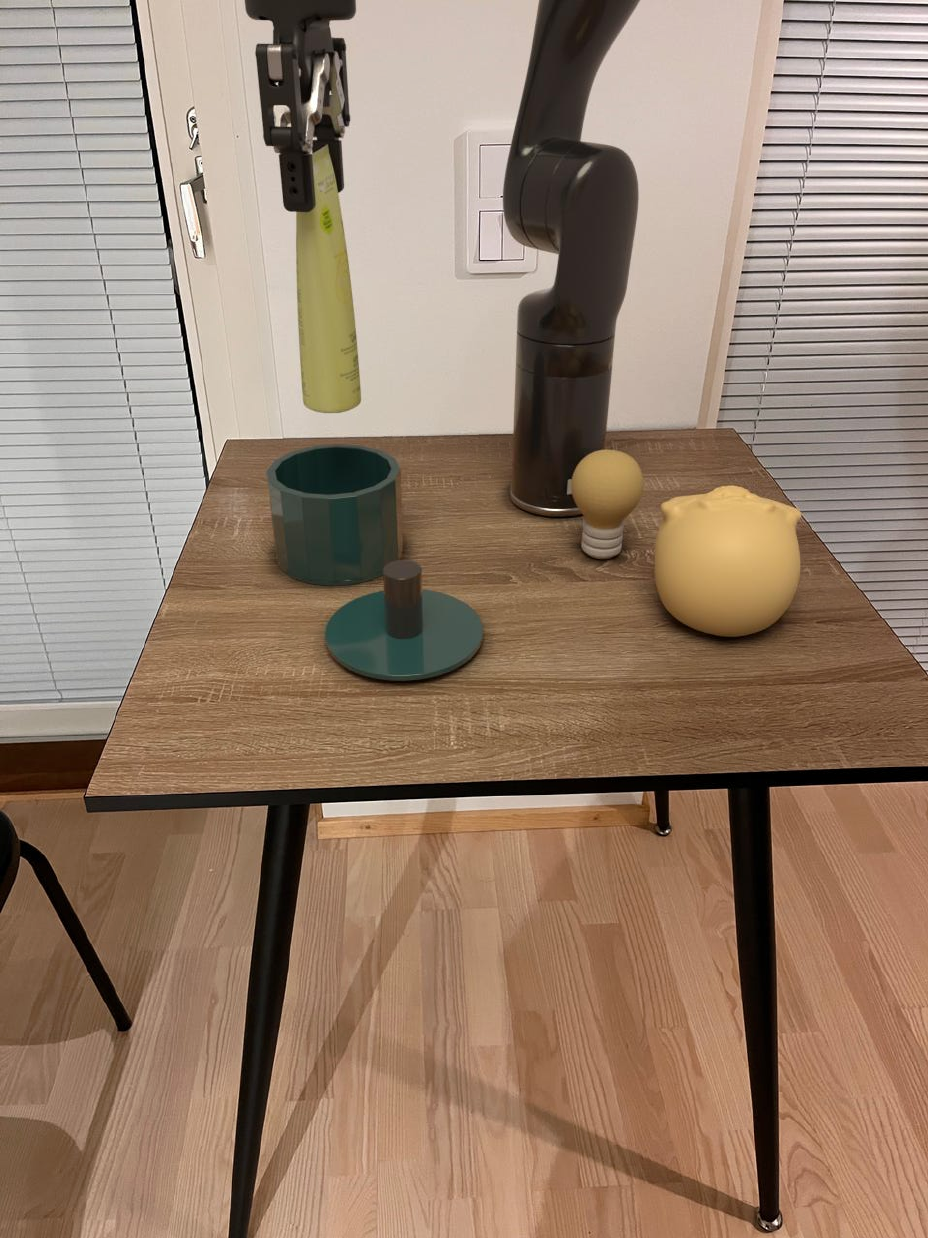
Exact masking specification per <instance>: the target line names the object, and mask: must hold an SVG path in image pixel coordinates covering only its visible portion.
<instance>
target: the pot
mask: <svg viewBox="0 0 928 1238" xmlns="http://www.w3.org/2000/svg"><path fill="white" fill-rule="evenodd" d="M265 473H266V482H267V483H266V484H267V491H268V500H269V501H268V502H269V508H270V516H271V524H272V525H271V526H272V534H273V535H272V536H273V543H274V550H275V556H276V557H275V558H276V562H277V565H278V567H279V569H280V570H281V571H282V572H283V573H285V575H287V576H288V577H291V578H292V579H294V580H297V581H300V582H302V583H306V584H310V585H311V584H312V585H316V586H317V585H318V586H329V587H332V586H333V587H335V586H336V587H338V586H339V587H340V586H351V585H356V584H357V585H358V584H361V583H366V582H369V581H372V580H375V579H378V578H380V577H383V568H384V566H385V565H386V564H388V563H390V562H393V561H397V560H402V557H403V549H404V531H403V530H404V529H403V527H404V526H403V525H404V523H403V497H402V469H401V466H400V465H399V461H398V460H397V458H396V457H394V456H392V455H391V454H389V453H387V451H386V452H385V451H384V450H382V449H378V448H374V447H370V446H366V445H361V444H349V443H331V444H328V443H327V444H319V445H317V444H316V445H312V446H307V447H303V448H300V449H296V450H292V451H289V452H287V453H285V454H284V455H282V456H280V457H278V458H276V459H274V460H273V461H272V463H271V464H270V465H269V466H268V467H267V469H266V471H265Z"/></svg>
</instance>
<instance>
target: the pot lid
mask: <svg viewBox="0 0 928 1238" xmlns="http://www.w3.org/2000/svg"><path fill="white" fill-rule="evenodd" d="M382 588H383V590H379V591H375V592H371V593H368V594H363V595H362V596H359V597H357V598H355V599H353V600H350V601H349V602H347V603H345V604H344V605H342V606H341V607H339V608H338V609H337V610H336V611H335V612H334V613H333V614H332V615H331V616H330V618H329V619H328V622H327V623H326V626H325V631H324V641H325V646H326V649H327V651H328V652H329V654H330V656H331V657H332V658H333V659H334V660H335V662H337V663H338V664H340V666H342V667H344V668H346V669H347V670H349V671H351V672H353V673H356V674H358V675H361V676H363V677H367V678H371V679H375V680H376V679H377V680H383V681H384V680H385V681H397V682H403V681H407V682H408V681H417V680H424V679H425V680H426V679H430V678H434V677H438V676H442V675H444V674H446V673H447V674H448V673H449V672H452V671H454V670H457V669H458V668H460V667H462V666H463V665H465V664H466V663H467V662H468V661H470V660H471V659H472V658H473V657H474V656H475V655H476V653H477V652H478V651H479V649H480V648H481V645H482V643H483V637H484V626H483V622H482V620H481V618H480V616H479V614H478V613H477V612H476V611H475V610H474V608H472V607H471V606H470V605H469V604H467V603H466V602H464V601H463V600H462V599H459V598H457V597H455V596H452V595H449V594H447V593H443V592H439V591H437V590H436V591H435V590H430V589H425V588H423V568H422V566H421V565H420V564H419V563H417V562H415V561H413V560H409V559H400V560H397V561H393V562H390V563H388V564H386V565H385V566H384V568H383V575H382Z"/></svg>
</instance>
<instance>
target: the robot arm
mask: <svg viewBox="0 0 928 1238" xmlns="http://www.w3.org/2000/svg"><path fill="white" fill-rule="evenodd" d="M356 1H357V0H244V9H245V12H246V14H247V16H248V17H249V18H250V19H251V20H254V21H270V22H271V23H272V27H273V28H272V43H257V44H256V45H255V53H254V55H255V61H256V70H257V71H256V72H257V79H258V80H257V81H258V93H259V101H260V111H261V113H260V115H261V123H262V132H263V133H262V139H263V141H264V145H265V146H266V147H272V148H273V151H274V153H275V154H278V161H279V171H280V174H279V175H280V184H281V193H282V194H281V195H282V205H283V208H284V209H285V210H286V211H288V212H290V213H291V212H292V213H296V212H310V211H311V210H313V209H314V208H315V206H316V200H315V187H314V174H313V161H312V154H313V153H315V152H316V151H318V150H320V149H321V148H323V147H324V146H326V145H328V148H329V154H330V158H331V161H332V165H333V169H334V174H335V179H336V184H337V190H338V194H339V193H341V192H342V191H343V190H344V189H345V177H344V159H343V145H342V144H343V143H342V139H344V137H345V133H346V128H349V126H350V122H351V114H350V101H349V99H350V98H349V84H348V69H347V68H348V65H347V44H346V41H345V38H344V37H332V31H331V27H330V24H331V23H330V22H331V21H349V20H352V19H354V17H355V16H356V13H357V2H356ZM640 2H641V0H538V4H537V9H536V17H535V22H534V30H533V36H532V43H531V48H530V55H529V60H528V65H527V70H526V74H525V80H524V84H523V89H522V93H521V97H520V98H521V99H520V103H519V107H518V111H517V116H516V120H515V125H514V129H513V134H512V138H511V142H510V147H509V152H508V156H507V161H506V167H505V172H504V178H503V187H502V213H503V218H504V223H505V226H506V228H507V230H508V233H509V234H510V235H511V237H512V238H513V239H514V241H516V242H517V243H518V244H521V245H522V246H524V247H526V248H530V249H534V250H538V251H542V252H546V253H549V254H555V255H558V256H557V262H556V263H557V264H556V271H555V277H554V281H553V285H552V286H551V287H548V288H543V289H540V290H535V291H533V292H530V293H528V294H526V295H524V296H523V297H522V298H521V299H520V301H519V303H518V305H517V312H516V338H515V339H516V341H515V344H516V345H515V372H514V374H515V375H514V401H513V405H514V406H513V429H512V430H513V431H512V454H511V455H512V457H511V458H512V459H511V484H510V487H509V497H510V500H511V502H512V503H513V504H514V505H515V506H516V507H518V508H519V509H522V510H524V511H525V512H528V513H531V514H534V515H539V516H546V517H556V518H557V517H558V518H561V517H562V518H563V517H573V516H579V515H583V514H582V512H581V511H580V510H579V508H578V507H577V505H576V503H575V501H574V498H573V495H572V490H571V482H572V477H573V473H574V471H575V469H576V467H577V465H578V464H579V463H580V461H581V460H582V459H583V458H585V457H586V456H587V455H589V454H591V453H593V452H595V451H599V450H606V440H607V430H608V419H609V410H610V409H609V407H610V398H611V397H610V396H611V387H612V374H613V364H614V363H613V362H614V353H615V352H614V351H615V350H614V349H615V341H616V340H615V338H616V331H617V329H616V328H617V321H618V316H619V314H620V311H621V309H622V306H623V303H624V301H625V298H626V294H627V290H628V283H629V276H630V268H631V261H632V255H633V248H634V242H635V237H636V228H637V221H638V212H639V201H640V199H639V198H640V197H639V196H640V194H639V193H640V192H639V180H638V174H637V170H636V167H635V163H634V162H633V160H632V158H631V157H630V156H629V154H628V153H627V152H625V150H623V149H621V148H620V147H617V146H614V145H611V144H610V145H609V144H604V143H598V142H590V141H583V140H582V134H583V129H584V122H585V118H586V113H587V109H588V108H587V107H588V103H589V100H590V95H591V92H592V88H593V85H594V82H595V79H596V77H597V74H598V72H599V69H600V67H601V66H602V63H603V62H604V60H605V58H606V56H607V55H608V53H609V51H610V50H611V48H612V46H613V44H614V43H615V41H616V40H617V38H618V37H619V35H620V33H621V32H622V30H623V29H624V27H625V26H626V25H627V23H628V21H629V20H630V18H631V16H632V15H633V13H634V12H635V10H636V9H637V7H638V5H639V4H640ZM289 124H290V126H288V125H289ZM314 138H315V139H314ZM340 139H341V140H340Z"/></svg>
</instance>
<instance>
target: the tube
mask: <svg viewBox="0 0 928 1238" xmlns="http://www.w3.org/2000/svg"><path fill="white" fill-rule="evenodd" d="M311 154H312V153H311ZM312 161H313V174H314V187H315V200H316V206H315V208H314V209H313V210H311V211H310V212H295V266H296V267H295V269H296V301H297V302H296V303H297V305H296V306H297V327H298V328H297V329H298V347H299V362H300V363H299V364H300V378H301V379H300V380H301V392H302V393H301V394H302V403H303V405H304V407H305V408H307V409H308V410H309V411H313V412H316V413H322V414H341V413H346V412H348V411H350V410H353V409H355V408H356V407H358V406H359V405H360V404H361V402H362V389H361V388H362V387H361V376H360V361H359V351H358V338H357V328H356V318H355V309H354V299H353V290H352V289H353V288H352V280H351V272H350V264H349V263H350V262H349V256H348V255H349V254H348V249H347V248H348V247H347V241H346V240H347V239H346V234H345V228H344V221H343V216H342V215H343V214H342V209H341V202H340V196H339V195H340V194H339V193H338V190H337V184H336V179H335V174H334V169H333V165H332V161H331V158H330V154H329V148H328V145H326V146H324V147H323V148H321V149H320V150H318V151H316V152H315V153H313V154H312Z"/></svg>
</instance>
